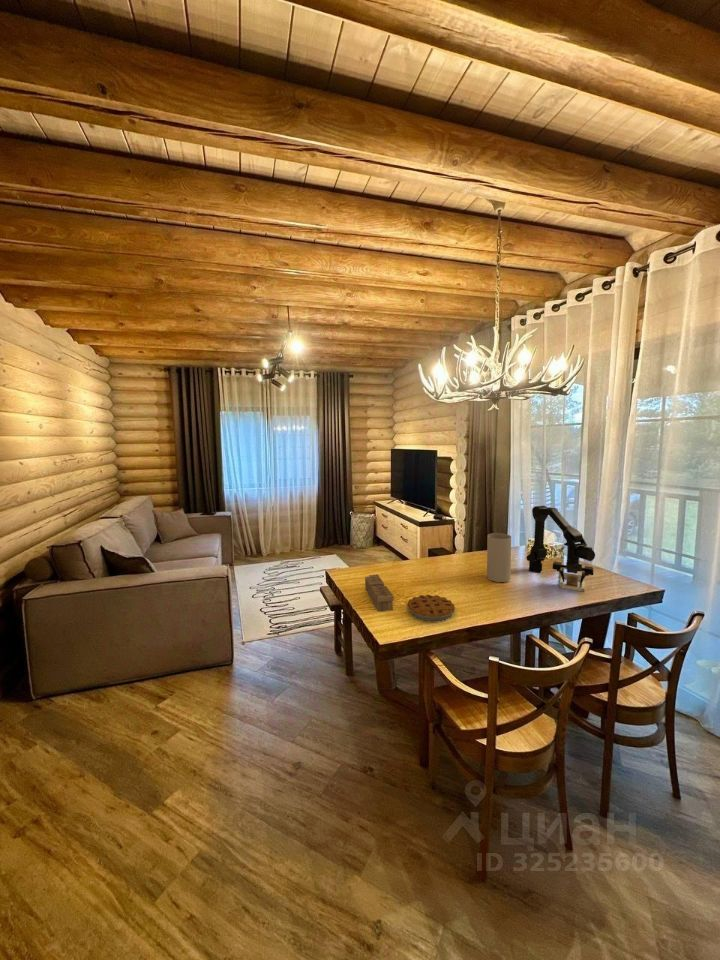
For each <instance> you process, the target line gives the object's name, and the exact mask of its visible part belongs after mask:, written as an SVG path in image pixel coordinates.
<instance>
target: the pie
mask: <svg viewBox="0 0 720 960" xmlns="http://www.w3.org/2000/svg"><path fill="white" fill-rule="evenodd" d="M406 607H407V609H408V611H410V613H411V615H412V616H413V617H414V616H415V617H414V618H415V619H417V618H418V619H417V620H419V619H420V621H421V620H423V621H422V622H427V621H430V622H429V623H432V622H431V621H440V622H442V620H444V621H447V620H449V619H450V617H451V618H452V616H453V614H454V613H455V611H456V607H455V604H454V603H453V602H452V600H450V599H448V598H446V597H443V596H440V595H438V594H436V595H432V594H426V595H423V594H421V595H419V596H413V597H412V599H411V598H410V599H409V600H408V601H407V604H406ZM448 618H449V619H448ZM446 619H447V620H446Z"/></svg>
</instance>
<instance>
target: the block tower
mask: <svg viewBox="0 0 720 960" xmlns="http://www.w3.org/2000/svg"><path fill="white" fill-rule="evenodd" d="M364 579H365V580H364V583H365V584H364V585H365V587H364V589H365V592H366V591H367V592H366V594H367V593H368V594H367V596H368V597H369V599H370V602H371V603H372V605H373V607H374V608H375V610H376V609H377V610H376V611H377V612H378V611H380V612H387V611H386V610H388V611H393V610H394V600H395V599H394V595H393V593H392V592H391V591H390V589H389V588H388V586H387V585H385V583H384V581H383V579H382V578H381V577H380V576H379V574H377V573H376V574H373V575H372V574H371V575H370V574H369V575H368V576H365V577H364Z"/></svg>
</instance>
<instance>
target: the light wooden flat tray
mask: <svg viewBox="0 0 720 960" xmlns="http://www.w3.org/2000/svg"><path fill="white" fill-rule="evenodd" d="M563 583H564V582H563V580H562V577H561V578H560V581H559V584H558V585H559V586H558V587H559V588H563V589H567V590H573V591H579V592H585V588H586V587H585V586H586V580H584V581H583V582H582V584H581V587H580V586H577V587H575V586H569V585H566V584H563Z"/></svg>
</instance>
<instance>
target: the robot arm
mask: <svg viewBox="0 0 720 960" xmlns="http://www.w3.org/2000/svg"><path fill="white" fill-rule="evenodd" d="M531 511H532V513H531V514H532V518H533V520H534V536H533V537H534V541H533V545H532V547H531V548H530V553H528V555H526V561H528V563H529V565H528V566H529V567H528V572H531V573H532V572H533V573H538V574H541V572H542V571H543V562H544V561H545V560H546V559H545V558H546V557H547V556H548V548H546V547H545V545H544V541H545V539H544V538H545V524H546V522H545V521H546V520H547V519H548V517H550V518H551V519H552V521H553V522H554V523H555V524H556V526H558V528H559V529H560V531H562V534H563V535H562V536H563V537H564V539H565V541H566V542H565V543H564V544H563V545H564V546H567V548H566V549H567V550H566V551H567V552H566V564H562V563H563V562H560V561H559V562H558V561H553V563H552V570H555V571H556V572H559V575H560V574H561V577H562V580H563V583H565V579H564V573H565V570H566V573H569V574H576V575H578V572H581V574H580V575H581V580H580V582H579V586H582V582H583V579H584V580H585V578H586V577H588V576H593V575H594V567H593V566H588V565H585V566H584V567H583V564H580V559H581V560H582V559H583V560H585V561H588V562H592V561H594V559H595V558H596V553H595V551H594V550H593V547H591V546H588V544H587V542H586V540H585V539H584V536H583V534H582V533H581V532H580V531H579V530H578V529H576V528H575V527H573V526H571V524H570V523H569V522H568V521H567V520H566V519H565V518H564V516H563V515H562V514H561V513H560V512H559V510H558V508H556V507H549V506H548V507H547V506H546V505H535V506H534V507H532V510H531Z"/></svg>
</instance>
